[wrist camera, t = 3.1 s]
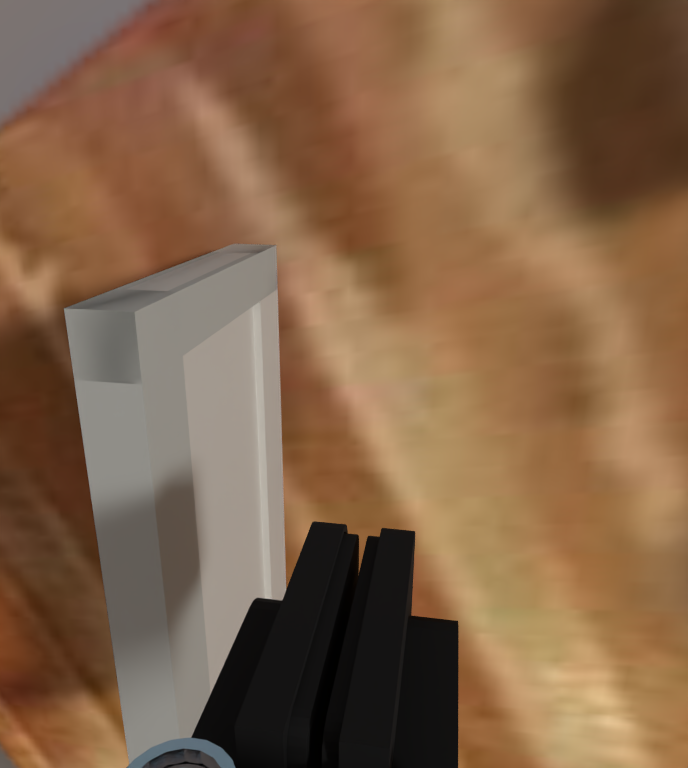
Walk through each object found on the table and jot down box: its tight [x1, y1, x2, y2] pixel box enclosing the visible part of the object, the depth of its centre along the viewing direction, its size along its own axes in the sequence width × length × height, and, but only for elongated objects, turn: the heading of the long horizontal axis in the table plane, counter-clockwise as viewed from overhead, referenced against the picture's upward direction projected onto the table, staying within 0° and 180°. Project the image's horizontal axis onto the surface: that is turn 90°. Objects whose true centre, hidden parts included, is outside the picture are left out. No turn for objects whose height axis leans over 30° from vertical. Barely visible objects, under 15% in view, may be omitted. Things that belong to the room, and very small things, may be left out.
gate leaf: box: [64, 244, 286, 765], centre depth 20 cm, size 16×2×10 cm, turn 0°
